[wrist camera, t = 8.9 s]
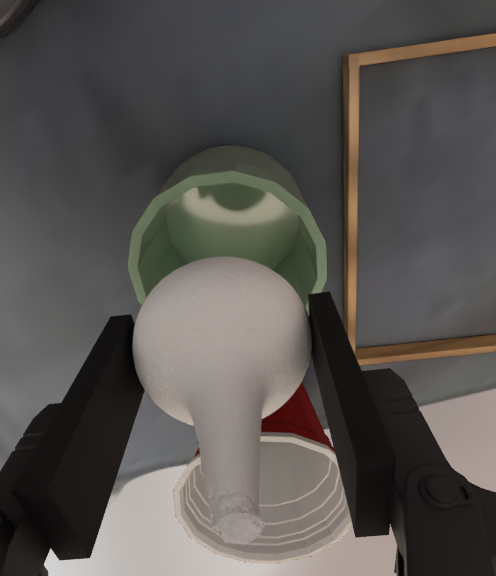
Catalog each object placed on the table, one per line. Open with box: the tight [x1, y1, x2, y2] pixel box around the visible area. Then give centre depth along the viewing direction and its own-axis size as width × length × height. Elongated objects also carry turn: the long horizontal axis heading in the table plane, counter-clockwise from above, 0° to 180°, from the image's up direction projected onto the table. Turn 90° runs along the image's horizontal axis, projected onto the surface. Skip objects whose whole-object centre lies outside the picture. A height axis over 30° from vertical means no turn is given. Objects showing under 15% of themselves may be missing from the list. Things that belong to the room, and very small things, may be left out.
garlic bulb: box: [132, 256, 312, 544], centre depth 11 cm, size 6×6×8 cm
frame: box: [343, 33, 496, 365], centre depth 25 cm, size 21×13×1 cm, turn 7°
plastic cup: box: [173, 383, 353, 563], centre depth 26 cm, size 11×11×12 cm
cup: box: [127, 145, 327, 316], centre depth 22 cm, size 10×10×8 cm
